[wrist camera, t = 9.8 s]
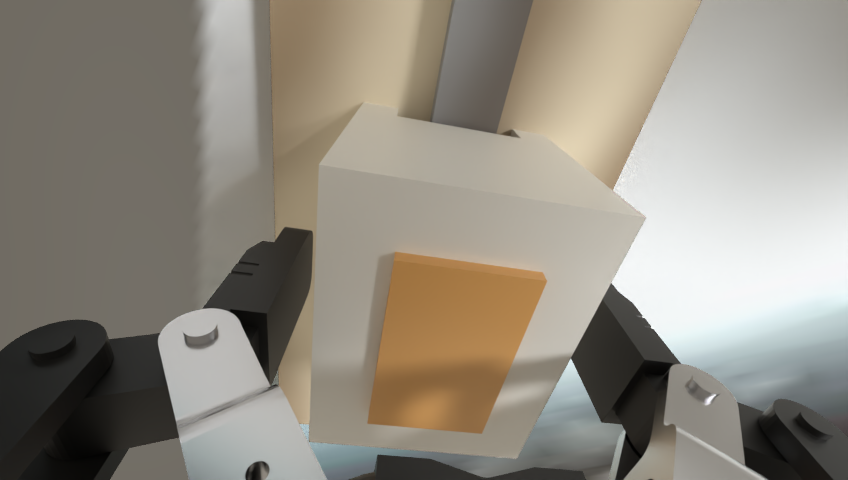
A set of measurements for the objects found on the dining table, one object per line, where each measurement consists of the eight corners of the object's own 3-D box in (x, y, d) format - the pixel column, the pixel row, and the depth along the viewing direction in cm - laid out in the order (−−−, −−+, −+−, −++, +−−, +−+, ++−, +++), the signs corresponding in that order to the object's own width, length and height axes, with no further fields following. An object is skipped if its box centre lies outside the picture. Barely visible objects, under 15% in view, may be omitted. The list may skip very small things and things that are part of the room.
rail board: (776, -216, 9) (862, -274, 7) (491, 424, 22) (498, 458, 20) (276, -375, 8) (236, -493, 6) (285, 405, 20) (273, 439, 19)
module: (543, 134, 12) (655, 224, 6) (482, 315, 16) (519, 469, 10) (363, 101, 11) (314, 170, 6) (345, 298, 15) (305, 452, 10)
